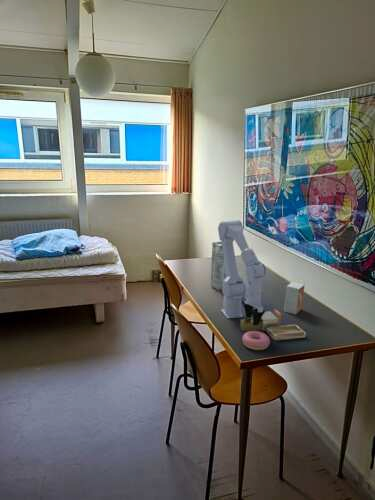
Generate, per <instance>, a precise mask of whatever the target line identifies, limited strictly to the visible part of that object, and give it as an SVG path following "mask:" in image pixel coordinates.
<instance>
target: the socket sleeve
mask: <svg viewBox="0 0 375 500" xmlns="http://www.w3.org/2000/svg"><path fill="white" fill-rule="evenodd" d="M261 320H262V325H261V330H260V331H261V332H267V328H269V327H274V326H278V318H277V317H276V316H275V315H274V312H272V311H265V313H264V314H263V316H262V317H261Z"/></svg>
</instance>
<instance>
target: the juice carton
mask: <svg viewBox="0 0 375 500" xmlns="http://www.w3.org/2000/svg"><path fill="white" fill-rule="evenodd" d="M211 245H212V246H211V247H212V248H211V249H212V250H211V267H210V268H211V269H210V286H211V287H212V288H214V289H215V290H217V292H219V291H222V288H223V284H222V282H223V281H224V280H225V278H226V277H227V275H226V268H225V262H224V256H223V249H222V243H221V241H215V242H212V244H211Z"/></svg>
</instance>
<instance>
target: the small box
mask: <svg viewBox="0 0 375 500" xmlns="http://www.w3.org/2000/svg"><path fill="white" fill-rule="evenodd" d="M285 287H286V288H285V298H284V306H283V312H285V313H289V314H293V315H297V314H298V313H299V312H300V311H301V310H302V308H303V301H304V292H305V284H302V283H299V282H295V281H292V282H290V283H289V284H287V286H285Z"/></svg>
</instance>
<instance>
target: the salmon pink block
mask: <svg viewBox="0 0 375 500" xmlns="http://www.w3.org/2000/svg"><path fill="white" fill-rule="evenodd" d="M273 314H274V315H275V316H276V317H277V318H278V326H281V323H282V313H281V312H280V311H279V310H277V309H273Z"/></svg>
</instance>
